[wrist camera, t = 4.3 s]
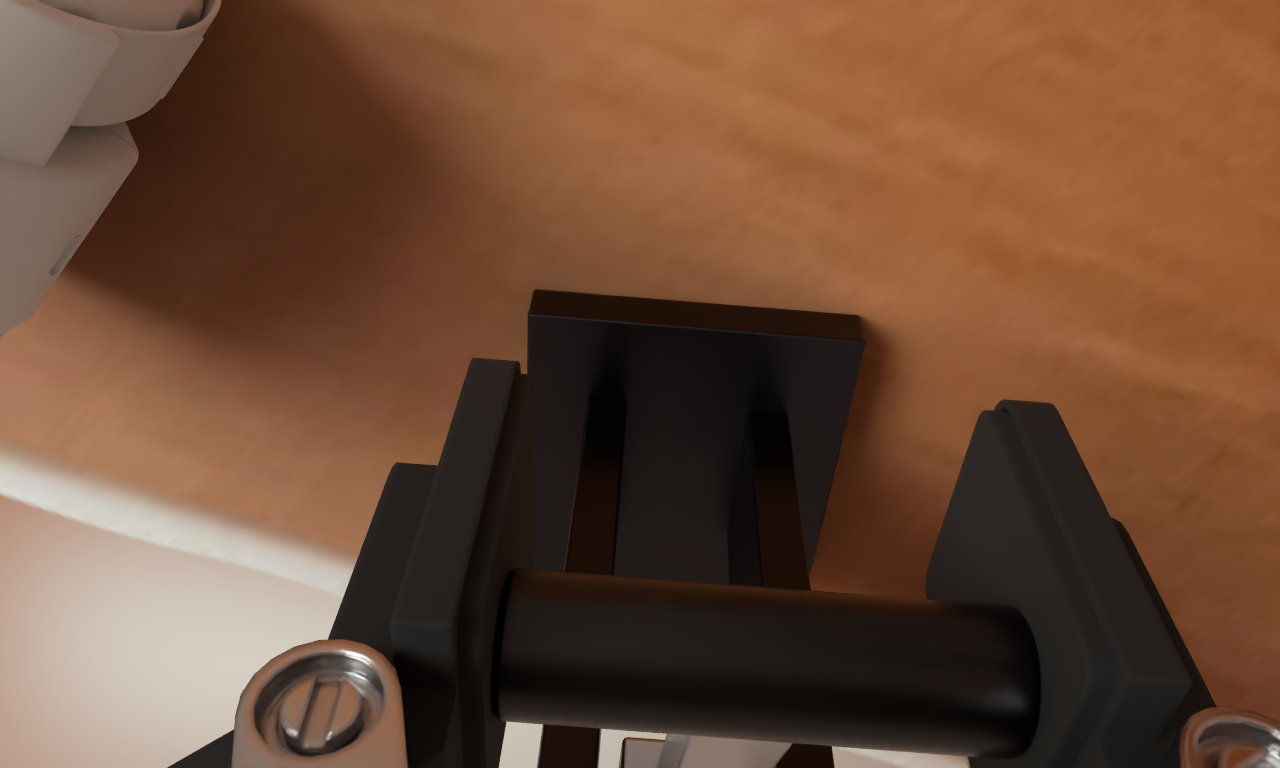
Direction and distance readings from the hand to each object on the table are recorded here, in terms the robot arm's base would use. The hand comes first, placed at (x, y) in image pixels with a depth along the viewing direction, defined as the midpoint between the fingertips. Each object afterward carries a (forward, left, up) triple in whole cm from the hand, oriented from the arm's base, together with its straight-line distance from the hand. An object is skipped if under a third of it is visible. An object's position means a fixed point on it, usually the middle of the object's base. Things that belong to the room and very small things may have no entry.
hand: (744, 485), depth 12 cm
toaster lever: (+4, 0, 0) cm, 4 cm away
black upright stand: (+9, 0, -12) cm, 15 cm away
